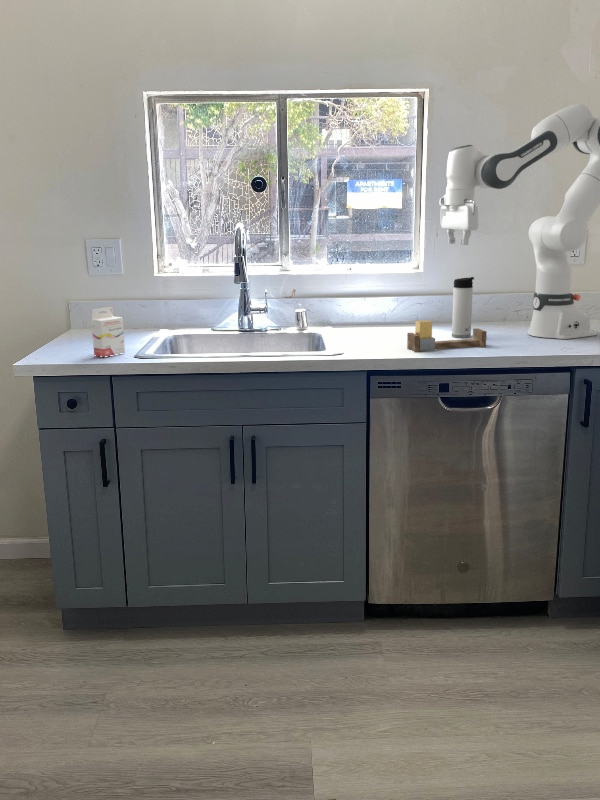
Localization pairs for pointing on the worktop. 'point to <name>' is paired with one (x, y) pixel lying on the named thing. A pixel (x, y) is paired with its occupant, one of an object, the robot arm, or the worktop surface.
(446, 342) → the rail
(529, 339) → the worktop surface
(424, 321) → the slider
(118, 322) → the ink cartridge box
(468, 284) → the travel mug
